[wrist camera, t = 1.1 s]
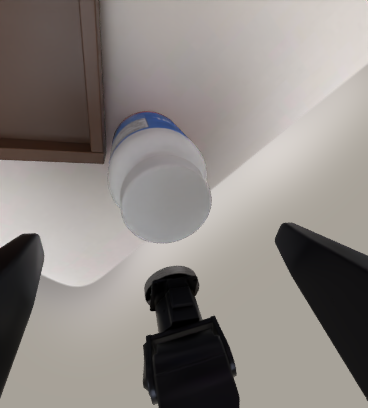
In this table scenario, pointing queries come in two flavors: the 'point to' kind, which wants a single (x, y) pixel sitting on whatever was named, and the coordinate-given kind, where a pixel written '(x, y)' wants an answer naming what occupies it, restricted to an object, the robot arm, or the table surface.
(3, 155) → the tray
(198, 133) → the table surface
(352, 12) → the table surface
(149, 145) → the pill bottle
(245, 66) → the table surface
